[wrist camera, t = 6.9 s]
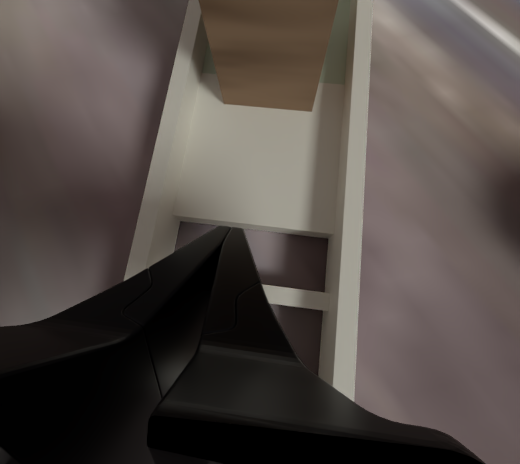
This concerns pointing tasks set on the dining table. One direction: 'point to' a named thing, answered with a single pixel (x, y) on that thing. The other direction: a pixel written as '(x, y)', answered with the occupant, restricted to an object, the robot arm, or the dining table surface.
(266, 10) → the tan upright block
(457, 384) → the dining table surface
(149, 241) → the trap box
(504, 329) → the dining table surface
